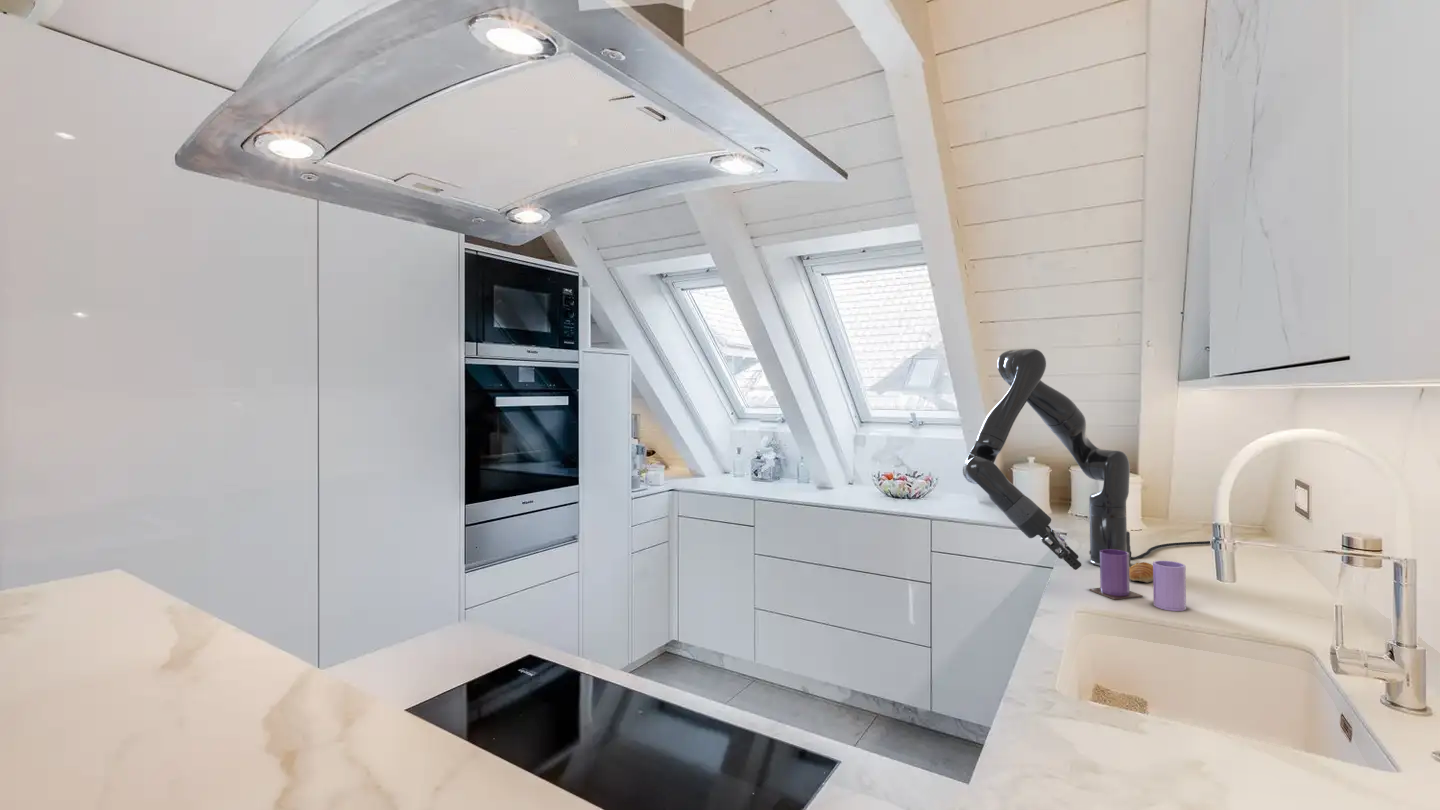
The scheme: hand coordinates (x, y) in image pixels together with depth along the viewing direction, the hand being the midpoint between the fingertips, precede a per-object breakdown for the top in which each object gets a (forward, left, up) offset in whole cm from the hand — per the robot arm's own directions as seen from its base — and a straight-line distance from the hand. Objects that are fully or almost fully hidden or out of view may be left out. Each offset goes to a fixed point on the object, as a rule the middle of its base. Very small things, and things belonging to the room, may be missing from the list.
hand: (1077, 563), depth 165 cm
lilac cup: (-11, +16, -7) cm, 21 cm away
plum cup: (-7, +5, -6) cm, 10 cm away
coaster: (-7, +5, -7) cm, 11 cm away
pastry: (-23, -4, -7) cm, 25 cm away
